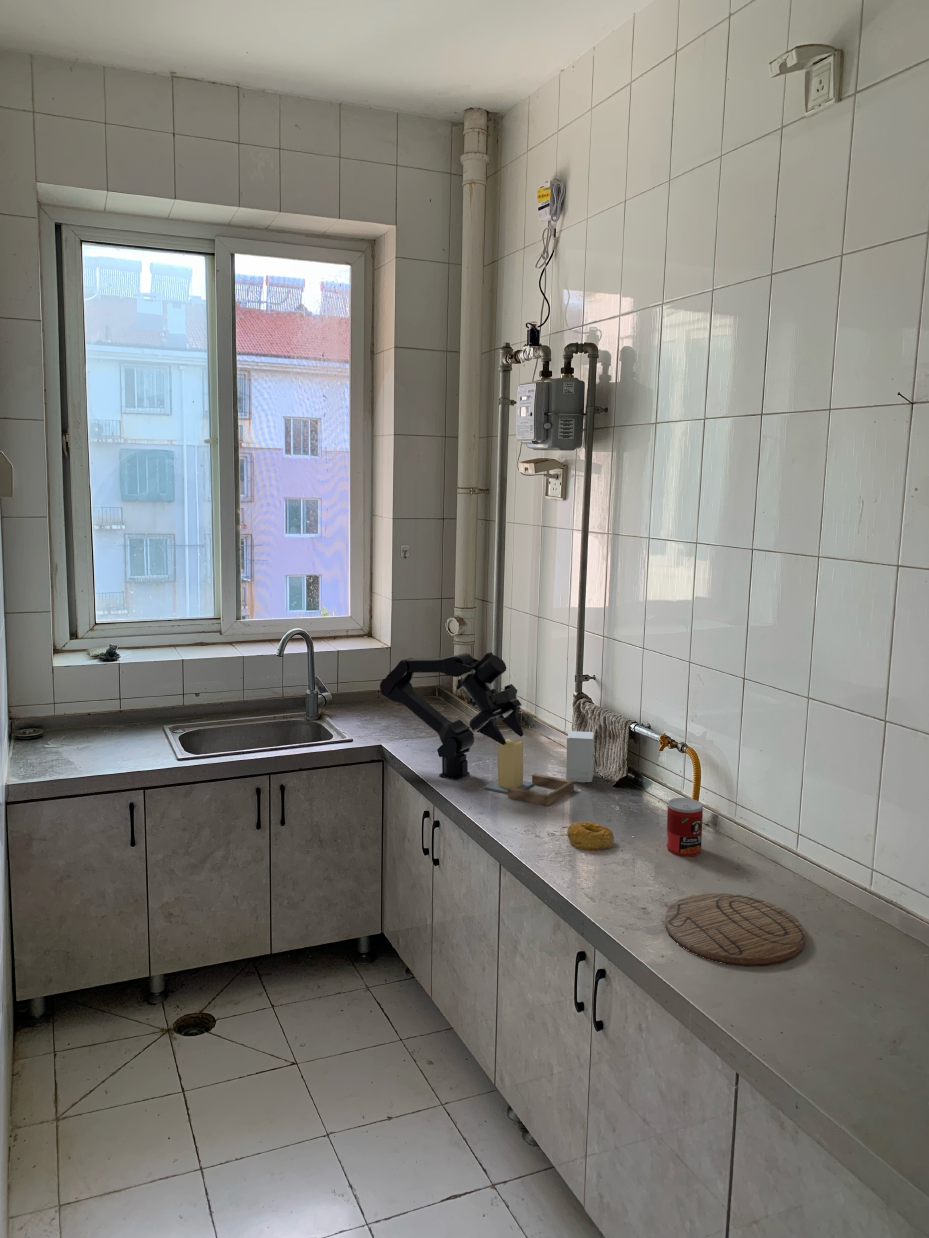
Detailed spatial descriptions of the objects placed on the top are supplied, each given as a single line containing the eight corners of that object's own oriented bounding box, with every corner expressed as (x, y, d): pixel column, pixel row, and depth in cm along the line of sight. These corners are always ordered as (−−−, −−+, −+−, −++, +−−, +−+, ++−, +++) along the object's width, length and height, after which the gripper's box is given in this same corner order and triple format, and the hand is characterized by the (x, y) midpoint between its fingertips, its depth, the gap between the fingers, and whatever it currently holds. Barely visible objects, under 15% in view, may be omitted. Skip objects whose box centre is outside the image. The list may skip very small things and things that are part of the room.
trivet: (723, 981, 156) (723, 970, 155) (638, 917, 178) (638, 907, 178) (835, 949, 165) (836, 940, 165) (741, 892, 188) (741, 884, 188)
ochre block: (497, 786, 250) (497, 743, 248) (507, 780, 254) (507, 738, 252) (513, 789, 247) (513, 746, 245) (522, 784, 251) (523, 741, 249)
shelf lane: (507, 797, 243) (507, 788, 243) (534, 782, 255) (534, 773, 254) (548, 806, 236) (548, 796, 236) (573, 790, 248) (573, 781, 248)
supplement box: (592, 783, 254) (593, 739, 252) (565, 781, 255) (566, 737, 253) (594, 774, 261) (594, 731, 259) (567, 773, 262) (568, 730, 260)
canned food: (682, 859, 203) (683, 812, 202) (658, 846, 210) (660, 800, 209) (708, 853, 207) (710, 806, 205) (685, 840, 214) (686, 795, 212)
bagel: (604, 855, 206) (604, 835, 205) (559, 846, 212) (559, 826, 211) (620, 841, 214) (621, 821, 214) (577, 832, 220) (577, 813, 219)
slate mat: (483, 788, 250) (483, 786, 250) (502, 778, 258) (502, 776, 258) (515, 795, 244) (515, 793, 244) (534, 785, 252) (534, 782, 252)
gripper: (480, 682, 240) (515, 731, 236) (516, 670, 256) (550, 715, 252) (454, 706, 246) (488, 754, 242) (491, 692, 261) (523, 737, 257)
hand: (513, 739), depth 248 cm, fingers open, 9 cm apart
